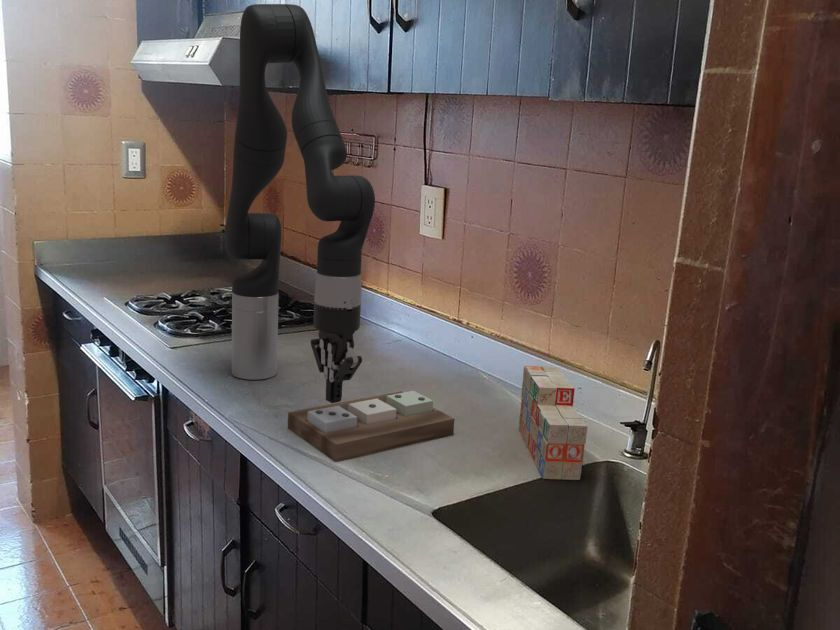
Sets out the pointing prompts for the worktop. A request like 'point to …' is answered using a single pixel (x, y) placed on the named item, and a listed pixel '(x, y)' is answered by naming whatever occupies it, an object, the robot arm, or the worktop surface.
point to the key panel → (371, 431)
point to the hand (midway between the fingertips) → (333, 401)
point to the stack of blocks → (551, 423)
